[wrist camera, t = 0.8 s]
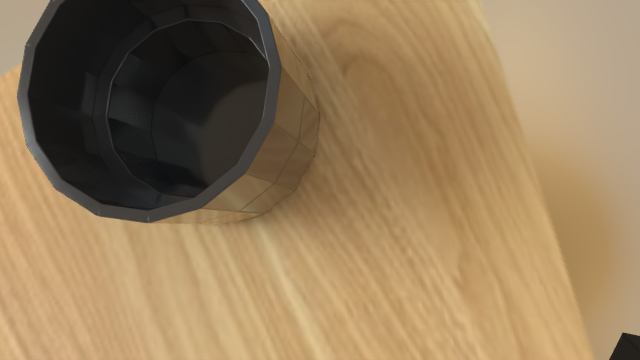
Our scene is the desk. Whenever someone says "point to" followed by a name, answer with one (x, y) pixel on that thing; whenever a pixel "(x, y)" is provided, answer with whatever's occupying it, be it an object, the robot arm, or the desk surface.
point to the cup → (167, 108)
